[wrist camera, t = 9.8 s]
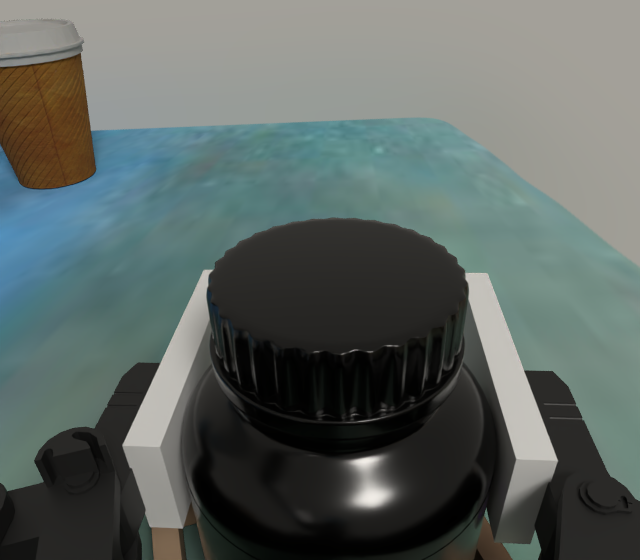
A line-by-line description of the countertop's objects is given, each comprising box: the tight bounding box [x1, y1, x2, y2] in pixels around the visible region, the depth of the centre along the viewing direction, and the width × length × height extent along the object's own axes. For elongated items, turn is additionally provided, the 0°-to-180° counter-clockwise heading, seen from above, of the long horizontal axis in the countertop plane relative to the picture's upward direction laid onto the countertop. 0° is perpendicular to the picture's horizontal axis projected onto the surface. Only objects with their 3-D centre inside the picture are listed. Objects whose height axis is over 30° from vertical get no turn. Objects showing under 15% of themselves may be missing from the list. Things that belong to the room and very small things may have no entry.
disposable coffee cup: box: [0, 19, 96, 189], centre depth 44 cm, size 10×10×12 cm
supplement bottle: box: [182, 218, 497, 560], centre depth 13 cm, size 7×7×12 cm
